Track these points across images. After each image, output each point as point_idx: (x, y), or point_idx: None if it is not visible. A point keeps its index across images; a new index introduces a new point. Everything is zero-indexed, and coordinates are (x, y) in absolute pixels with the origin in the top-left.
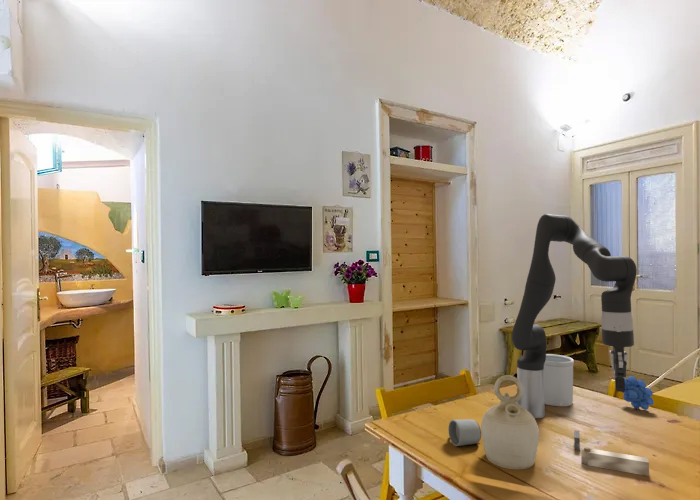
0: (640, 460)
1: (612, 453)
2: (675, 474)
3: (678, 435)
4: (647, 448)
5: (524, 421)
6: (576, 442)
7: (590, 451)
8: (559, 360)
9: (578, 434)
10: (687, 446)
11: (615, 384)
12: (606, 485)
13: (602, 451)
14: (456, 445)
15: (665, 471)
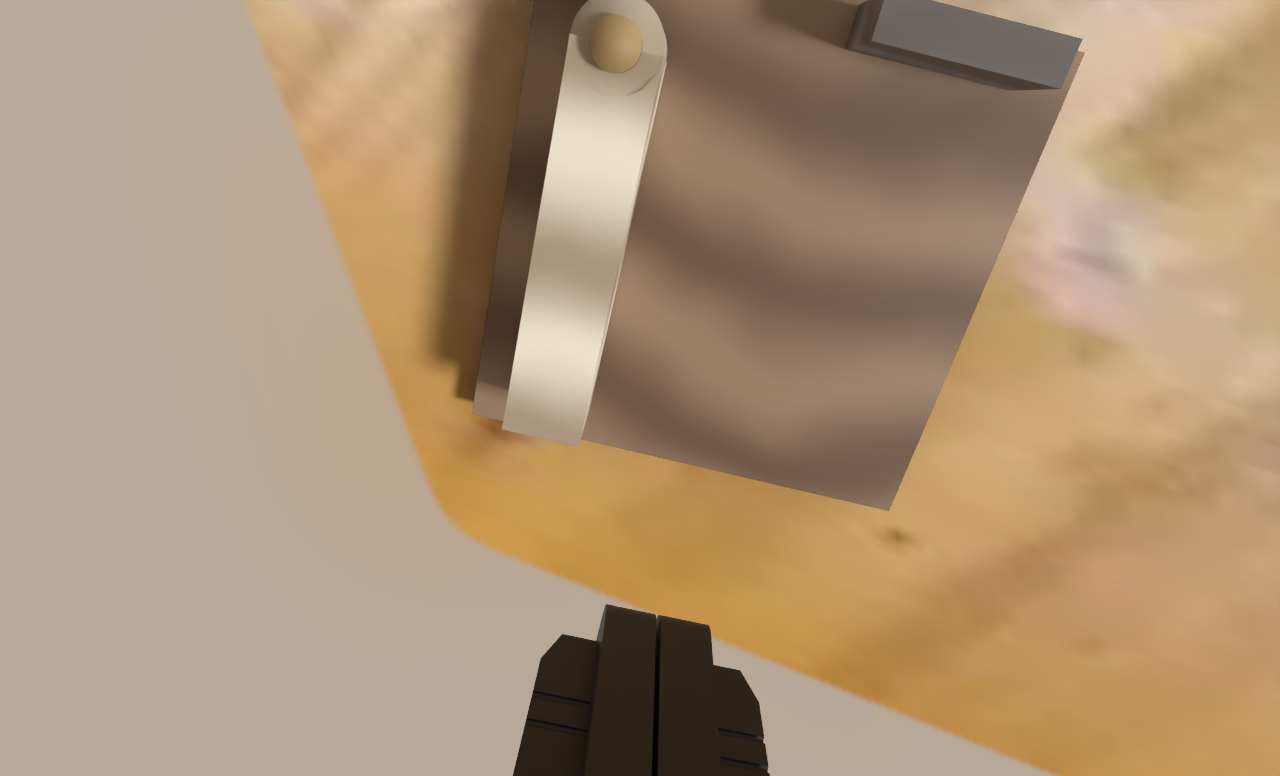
0: (522, 390)
1: (594, 239)
2: (651, 541)
3: (1197, 764)
4: (995, 540)
5: None
6: (870, 15)
7: (592, 66)
8: None
9: (966, 54)
10: (1032, 738)
11: (603, 690)
12: (394, 111)
13: (615, 171)
14: None
15: (678, 509)
